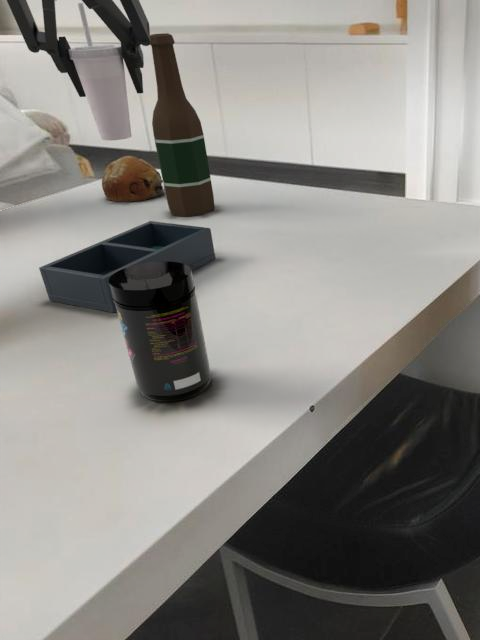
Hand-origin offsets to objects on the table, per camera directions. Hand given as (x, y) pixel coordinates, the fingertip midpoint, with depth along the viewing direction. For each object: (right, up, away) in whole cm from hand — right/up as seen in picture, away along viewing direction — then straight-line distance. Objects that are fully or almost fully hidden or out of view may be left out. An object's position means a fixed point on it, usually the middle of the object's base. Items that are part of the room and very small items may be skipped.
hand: (111, 85), depth 86 cm
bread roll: (-8, 0, +34) cm, 35 cm away
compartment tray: (+3, -24, 0) cm, 25 cm away
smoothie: (+1, -7, 0) cm, 7 cm away
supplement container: (+15, -42, -24) cm, 50 cm away
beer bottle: (+4, -6, +25) cm, 26 cm away
